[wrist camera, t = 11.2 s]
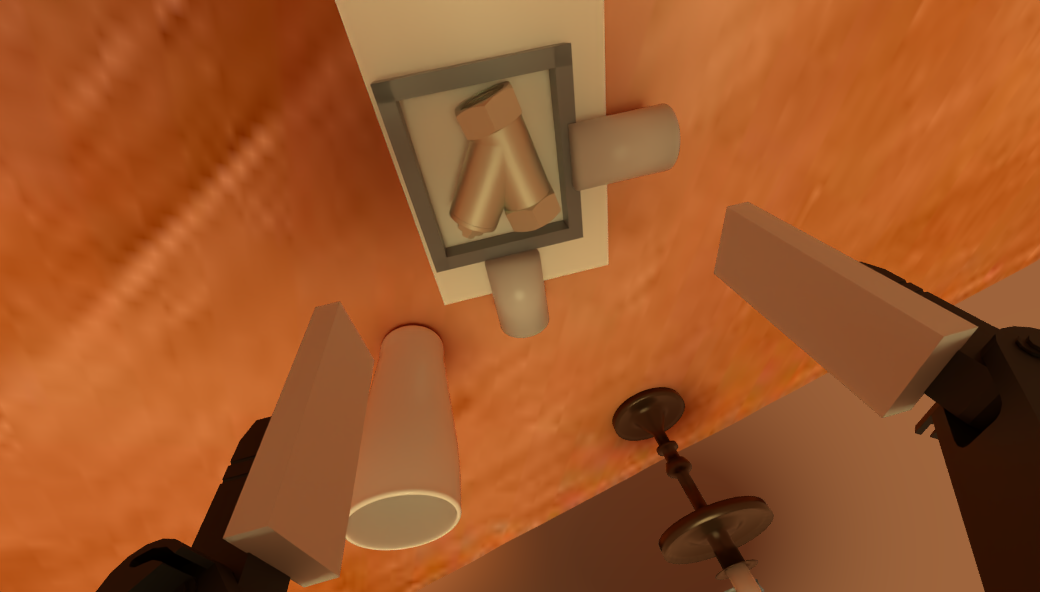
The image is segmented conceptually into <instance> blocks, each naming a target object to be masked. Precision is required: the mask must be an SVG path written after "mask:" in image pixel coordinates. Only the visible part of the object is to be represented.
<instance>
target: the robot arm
mask: <svg viewBox="0 0 1040 592" xmlns="http://www.w3.org/2000/svg"><path fill="white" fill-rule="evenodd" d="M714 274H715V275H716V276H717V277H719V278H720V279H721V280H722V281H723V282H724V283H726V284H727V285H728V286H729V287H730V288H731V289H733V290H734V291H735V292H736V293H737V294H738V295H740V296H741V297H742V298H743V299H744V300H745V301H747V302H748V303H749V304H750V305H751V306H752V307H754V308H755V309H756V310H757V311H758V312H759V313H761V314H762V315H763V316H764V317H765V318H766V319H768V320H769V321H770V322H771V323H772V324H773V325H774V326H776V327H777V328H778V329H779V330H780V331H781V332H783V333H784V334H785V335H786V336H787V337H788V338H790V339H791V340H792V341H793V342H794V343H795V344H797V345H798V346H799V347H800V348H801V349H802V350H804V351H805V352H806V353H807V354H808V355H809V356H811V357H812V358H813V359H814V360H815V361H816V362H818V363H819V364H820V365H821V366H822V367H823V368H825V369H826V370H827V371H828V372H829V373H830V374H832V375H833V376H834V377H835V378H836V379H838V380H839V381H840V382H841V383H842V384H843V385H844V386H846V387H847V388H848V389H849V390H850V391H851V392H853V393H854V394H855V395H856V396H857V397H858V398H860V399H861V400H862V401H863V402H864V403H865V404H867V405H868V406H869V407H870V408H871V409H872V410H874V411H875V412H876V413H877V414H878V415H879V416H881V417H882V418H884V417H888V416H891V415H895V414H898V413H902V412H905V411H908V410H911V409H912V408H913V407H914V405H915V404H916V403H917V402H918V400H919V399H920V398H921V397H922V396H923V394H924V393H925V394H926V395H927V396H929V397H930V398H932V399H933V400H934V401H936V403H935V404H934V405H933V406H932V407H931V408H930V410H929V411H928V412H927V413H926V414H925V415H924V417H923V418H922V419H921V420H920V421H919V422H918V424H917V425H916V426H915V433H917V434H920V435H921V434H922V433H923V432H924V431H925V429H927V428H928V426H929V425H930V424H934V426H935V430H934V431H933V433H932V434H931V435H930V437H932V438H936V439H938V440H939V443H940V446H941V449H942V453H943V456H944V459H945V463H946V466H947V469H948V472H949V476H950V479H951V482H952V485H953V489H954V492H955V495H956V498H957V502H958V505H959V508H960V512H961V515H962V518H963V521H964V525H965V528H966V531H967V535H968V538H969V541H970V544H971V548H972V551H973V554H974V557H975V561H976V564H977V567H978V571H979V574H980V577H981V580H982V584H983V587H984V590H985V592H1040V329H1035V328H1030V327H1016V326H1013V327H1007V328H1002V329H998V328H996V327H994V326H991V325H990V324H988V323H986V322H984V321H982V320H980V319H978V318H976V317H974V316H973V315H971V314H969V313H967V312H965V311H963V310H961V309H959V308H957V307H955V306H954V305H952V304H950V303H948V302H946V301H944V300H942V299H940V298H938V297H937V296H935V295H933V294H931V293H929V292H923V289H921V288H919V287H918V286H916V285H914V284H912V283H906V280H904V279H902V278H901V277H899V276H897V275H895V274H893V273H891V272H889V271H887V270H885V269H883V268H879V267H876V266H873V265H870V264H867V263H863V262H858V261H856V260H854V259H852V258H851V257H849V256H847V255H845V254H843V253H841V252H840V251H838V250H836V249H834V248H832V247H830V246H828V245H827V244H825V243H823V242H821V241H819V240H817V239H816V238H814V237H812V236H810V235H808V234H806V233H805V232H803V231H801V230H799V229H797V228H795V227H794V226H792V225H790V224H788V223H786V222H784V221H782V220H781V219H779V218H777V217H775V216H773V215H771V214H770V213H768V212H766V211H764V210H762V209H760V208H759V207H757V206H755V205H753V204H751V203H749V202H745V203H741V204H736V205H732V206H728V207H727V209H726V214H725V219H724V224H723V229H722V234H721V239H720V244H719V249H718V254H717V259H716V264H715V270H714ZM373 365H374V359H373V357H372V355H371V354H370V352H369V350H368V349H367V347H366V345H365V343H364V342H363V340H362V338H361V337H360V335H359V333H358V331H357V330H356V328H355V326H354V325H353V323H352V321H351V319H350V318H349V316H348V314H347V313H346V311H345V309H344V307H343V306H342V304H341V302H340V301H339V302H335V303H331V304H327V305H323V306H318V307H315V310H314V312H313V315H312V317H311V320H310V322H309V325H308V327H307V330H306V332H305V335H304V337H303V340H302V342H301V345H300V347H299V350H298V352H297V355H296V357H295V360H294V362H293V365H292V367H291V370H290V372H289V375H288V377H287V380H286V382H285V385H284V387H283V390H282V392H281V395H280V397H279V399H278V402H277V404H276V407H275V409H274V412H273V414H272V416H271V417H267V418H263V419H260V420H256V422H255V423H254V424H253V425H252V426H251V428H250V429H249V430H248V431H247V433H246V434H245V435H244V436H243V438H242V439H241V440H240V442H239V444H238V446H237V448H236V450H235V453H234V455H233V457H232V459H231V461H230V462H231V465H230V466H228V468H227V470H226V472H225V475H224V477H223V479H222V480H223V483H222V484H220V486H219V488H218V490H217V492H216V494H215V497H214V499H213V501H212V503H211V505H210V508H209V510H208V512H207V514H206V516H205V519H204V521H203V523H202V525H201V527H200V530H199V532H198V534H197V536H196V538H195V541H194V543H193V545H192V547H189V546H187V545H186V544H184V543H182V542H180V541H178V540H176V539H161V540H158V541H155V542H153V543H150V544H147V545H145V546H144V547H142V548H141V549H139V550H138V551H136V552H135V553H133V554H132V555H130V556H129V557H127V558H126V559H125V560H124V561H123V562H122V563H121V564H120V565H119V566H118V567H117V568H116V569H114V570H113V571H112V572H111V573H110V574H109V576H108V577H107V578H106V579H105V581H104V582H103V583H102V585H101V586H100V587H99V588H98V590H97V591H96V592H287V589H288V585H289V581H290V579H291V580H293V581H294V582H296V583H298V584H299V585H301V586H303V587H307V586H310V585H314V584H317V583H321V582H324V581H327V580H331V579H334V578H338V577H339V576H340V570H341V564H342V558H343V552H344V545H345V539H346V533H347V527H348V520H349V514H350V508H351V502H352V496H353V489H354V483H355V477H356V471H357V465H358V458H359V452H360V446H361V440H362V434H363V427H364V421H365V415H366V409H367V402H368V396H369V390H370V384H371V378H372V371H373Z"/></svg>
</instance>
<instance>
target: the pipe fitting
mask: <svg viewBox="0 0 1040 592" xmlns="http://www.w3.org/2000/svg"><path fill="white" fill-rule="evenodd" d="M521 113H522V110H521V107H520V105H519V102H518V100H517V97H516V95H515V92H514V90H513V87H512V85H511V83H510V82H509V81H505V82H501V83H498V84H495V85H493V86H491V87H489V88H486V89H484V90H482V91H480V92H479V93H477V94H475V95H473V96H472V97H470V98H469V99H467V100H465V101H464V102H463V103H461V104H460V105H459V106H458V107H457V108H456V109H455V115H456V118H457V120H458V122H459V124H460V126H461V128H462V130H463V132H464V134H465V136H466V138H467V140H470V142H469V146H468V149H467V152H466V156H465V159H464V163H463V166H462V169H461V173H460V176H459V180H458V183H457V187H456V190H455V194H454V197H453V200H452V204H451V207H450V210H449V214H450V217H451V218H452V219H453V220H454V221H455V222H456V223H458V228H459V229H460V230H461V231H462V235H463V236H464V237H466V238H468V239H474V237H475V236H481V235H483V233H490V232H493V231H495V230H496V228H497V226H498V223H499V220H500V218H501V215H502V212H503V210H504V211H505V214H506V217H507V219H508V221H509V223H510V224H511V226H512V228H513V230H514V232H528V231H533V230H536V229H538V228H541V227H543V226H545V225H546V224H548V223H549V222H551V221H552V220H553V219H554V218H555V217H556V216H557V215H558V214H559V212H560V211H561V208H560V206H559V203H558V200H557V198H556V195H555V193H554V191H553V189H552V187H551V185H550V183H549V181H548V179H547V176H546V174H545V171H544V169H543V166H542V164H541V161H540V159H539V156H538V154H537V151H536V149H535V146H534V144H533V141H532V139H531V136H530V134H529V131H528V129H527V126H526V124H525V121H524V119H523V116H522V114H521Z"/></svg>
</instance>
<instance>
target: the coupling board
mask: <svg viewBox="0 0 1040 592" xmlns="http://www.w3.org/2000/svg"><path fill="white" fill-rule="evenodd" d="M335 2H336V5H337V8H338V11H339V14H340V16H341V19H342V22H343V25H344V27H345V30H346V33H347V36H348V38H349V41H350V44H351V47H352V49H353V52H354V55H355V58H356V61H357V63H358V66H359V69H360V72H361V74H362V77H363V80H364V83H365V85H366V88H367V91H368V94H369V97H370V99H371V102H372V105H373V108H374V110H375V113H376V116H377V119H378V121H379V124H380V127H381V130H382V133H383V135H384V138H385V141H386V144H387V146H388V149H389V152H390V155H391V157H392V160H393V163H394V166H395V169H396V171H397V174H398V177H399V180H400V182H401V185H402V188H403V191H404V193H405V196H406V199H407V202H408V205H409V207H410V210H411V213H412V216H413V218H414V221H415V224H416V227H417V229H418V232H419V235H420V238H421V241H422V243H423V246H424V249H425V252H426V254H427V257H428V260H429V263H430V265H431V268H432V271H433V274H434V277H435V279H436V282H437V285H438V288H439V290H440V293H441V296H442V299H443V301H444V304H445V305H447V304H451V303H455V302H459V301H463V300H467V299H471V298H476V297H480V296H484V295H488V294H493V298H494V302H495V306H496V310H497V314H498V318H499V321H500V325H501V329H502V330H503V332H504V333H506V334H507V335H509V336H512V337H516V338H526V337H531V336H534V335H536V334H538V333H540V332H541V331H543V330H544V329H545V328H546V326H547V325H548V322H549V314H548V307H547V300H546V293H545V286H544V280H548V279H552V278H556V277H560V276H564V275H569V274H573V273H577V272H581V271H585V270H589V269H593V268H597V267H601V266H605V265H609V264H608V205H607V184H611V183H615V182H619V181H624V180H628V179H632V178H636V177H641V176H645V175H649V174H654V173H658V172H662V171H666V170H669V169H671V168H672V167H673V166H674V164H675V162H676V160H677V158H678V154H679V149H680V129H679V124H678V120H677V117H676V115H675V113H674V111H673V110H672V108H671V107H670V106H668V105H667V104H658V105H654V106H649V107H645V108H640V109H636V110H631V111H627V112H622V113H618V114H613V115H608V116H606V87H605V28H604V0H335ZM505 81H509V82H510V83H511V85H512V87H513V90H514V92H515V95H516V97H517V100H518V102H519V105H520V107H521V110H522V113H521V114H522V116H523V119H524V121H525V124H526V126H527V129H528V131H529V134H530V136H531V139H532V141H533V144H534V146H535V149H536V151H537V154H538V156H539V159H540V161H541V164H542V166H543V169H544V171H545V174H546V176H547V179H548V181H549V183H550V185H551V187H552V189H553V191H554V193H555V195H556V198H557V200H558V203H559V206H560V208H561V211H560V212H559V214H558V215H557V216H556V217H555V218H554V219H553V220H552V221H551V222H549V223H548V224H546V225H545V226H543V227H541V228H538V229H536V230H533V231H528V232H514V230H513V228H512V226H511V224H510V223H509V221H508V219H507V217H506V214H505V211H504V210H503V212H502V215H501V218H500V220H499V223H498V226H497V228H496V230H495V231H493V232H490V233H483V235H481V236H475V237H474V239H468V238H466V237H464V236H463V235H462V231H461V230H460V229H459V228H458V223H456V222H455V221H454V220H453V219H452V218H451V217H450V214H449V210H450V207H451V204H452V200H453V197H454V194H455V190H456V187H457V183H458V180H459V176H460V173H461V169H462V166H463V163H464V159H465V156H466V152H467V149H468V146H469V142H470V140H467V138H466V136H465V134H464V132H463V130H462V128H461V126H460V124H459V122H458V120H457V118H456V115H455V109H456V108H457V107H458V106H459V105H460V104H461V103H463V102H464V101H465V100H467V99H469V98H470V97H472V96H473V95H475V94H477V93H479V92H480V91H482V90H484V89H486V88H489V87H491V86H493V85H495V84H498V83H501V82H505Z"/></svg>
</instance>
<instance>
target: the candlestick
mask: <svg viewBox="0 0 1040 592" xmlns="http://www.w3.org/2000/svg"><path fill="white" fill-rule="evenodd" d="M684 409H685V404H684V401H683V399H682V398H681V396H680V395H679V394H678V393H677V392H676V391H675V390H673V389H670V388H652V389H648V390H645V391H642V392H640V393H638V394H636V395H634V396H632V397H630V398H629V399H628V400H626V401H625V402H624V403H623V404H622V405H620V407H619V408H618V409H617V410H616V412H615V414H614V416H613V426H614V429H615V431H616V433H617V434H618V435H619V437H621V438H623V439H626V440H631V441H638V440H645V439H649V438H652V437H655V439H656V441H657V443H658V445H659V447H658V448H657V453H658V454H659V455H660V456H664V457H665V459H666V461H667V463H666V473H667V475H668V476H670V477H671V478H676V479H678V481H679V482H680V484H681V486H682V488H683V489H684V491H685V493H686V495H687V497H688V499H689V500H690V502H691V504H692V506H693V507H694V509H695V511H694V512H692V513H690V514H688V515H686V516H685V517H683V518H681V519H680V520H678V521H677V522H676V523H674V524H673V525H672V526H670V527H669V528H668V529H667V530H666V531H665V532H664V533H663V534H662V536H661V538H660V539H659V547H660V549H661V551H662V554H663V556H664V558H665V560H666V561H667V562H669V563H673V564H688V563H694V562H699V561H703V560H707V559H710V558H714V557H716V558H717V559H718V561H719V563H720V564H721V567H722V569H723V570H722V571H721V572H719V573H718V574H717V575H716V577H715V578H716V579H718V580H724V579H728V578H729V579H730V581H731V583H732V584H733V586H734V588H735V590H736V592H762V591H761V589H760V588H759V586H758V584H757V583H756V581H755V579H754V578H753V576H752V574H751V573H750V571H749V570H750V569H752V568H753V567H755V565H757V563H758V560H747V561H745V560H744V558H743V557H742V555H741V553H740V552H739V550H738V547H740V546H742V545H744V544H745V543H747V542H749V541H750V540H752V539H754V538H755V537H756V536H758V535H759V534H761V532H763V531H764V530H765V529H766V528H767V527H768V526H769V525H770V524H771V522H772V520H773V517H774V515H773V513H772V511H771V509H770V508H769V507H768V505H767V504H766V502H765V501H764V500H763V499H761V498H759V497H755V496H741V497H734V498H729V499H726V500H722V501H719V502H715V503H713V504H710V505H707V504H706V502H705V500H704V498H703V497H702V495H701V493H700V492H699V490H698V488H697V486H696V485H695V483H694V481H693V480H692V478H691V476H690V475H689V472H690V471H691V469H692V465H691V463H690V462H689V461H688V460H687V459H686V458H684V457H682V456H679V454H678V452H677V451H676V450H677V449H678V444H677V443H676V442H675V441H670V440H669V439H668V437H667V435H666V433H665V431H666V430H668V429H669V428H671V427H672V426H673V425H674V424H675V423H676V422H677V421H678V420H679V419H680V418H681V416H682V414H683V412H684Z"/></svg>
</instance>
